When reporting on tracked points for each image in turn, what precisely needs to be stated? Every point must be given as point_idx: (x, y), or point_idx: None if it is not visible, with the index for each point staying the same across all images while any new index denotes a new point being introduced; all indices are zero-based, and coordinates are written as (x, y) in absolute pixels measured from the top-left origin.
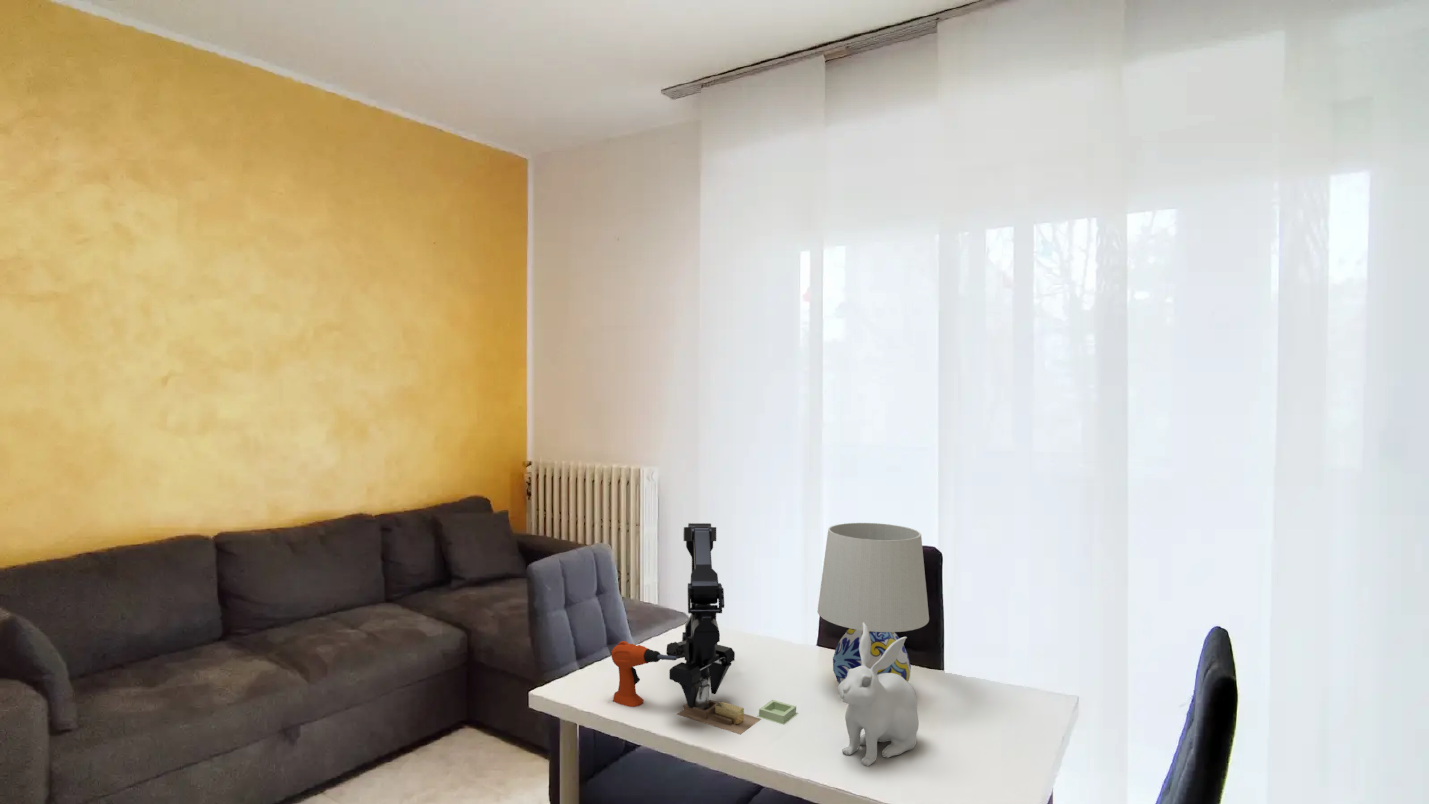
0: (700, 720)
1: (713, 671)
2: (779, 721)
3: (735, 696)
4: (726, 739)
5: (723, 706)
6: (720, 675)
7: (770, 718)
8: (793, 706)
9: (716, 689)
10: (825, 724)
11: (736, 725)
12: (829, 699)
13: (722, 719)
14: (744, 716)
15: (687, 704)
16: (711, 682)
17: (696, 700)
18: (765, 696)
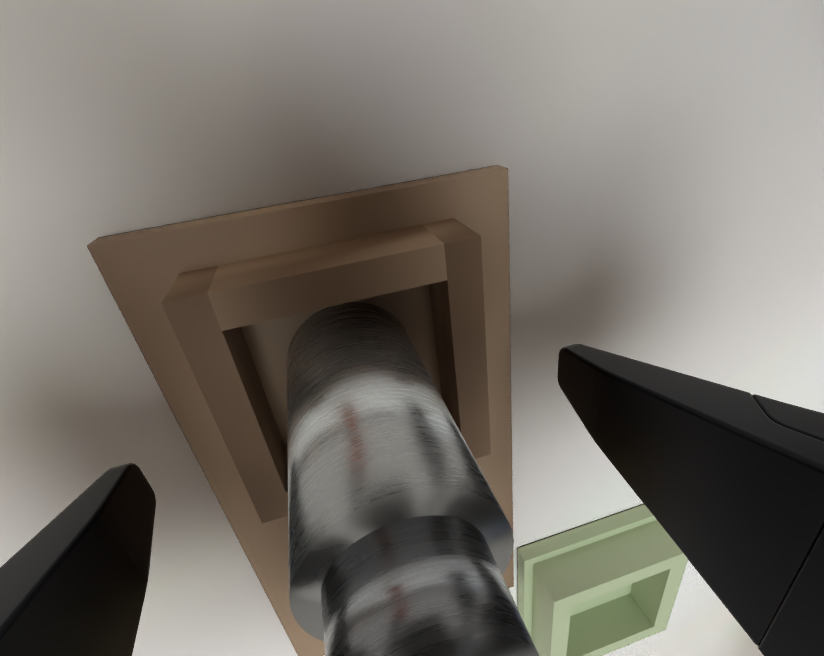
0: (219, 464)
1: (821, 548)
2: (533, 634)
3: (724, 285)
4: (219, 642)
5: None
6: (740, 605)
7: (535, 608)
8: (660, 626)
9: (590, 431)
10: (618, 652)
11: None
12: None
13: None
14: None
15: (228, 306)
16: (648, 412)
17: (288, 425)
18: (776, 393)
